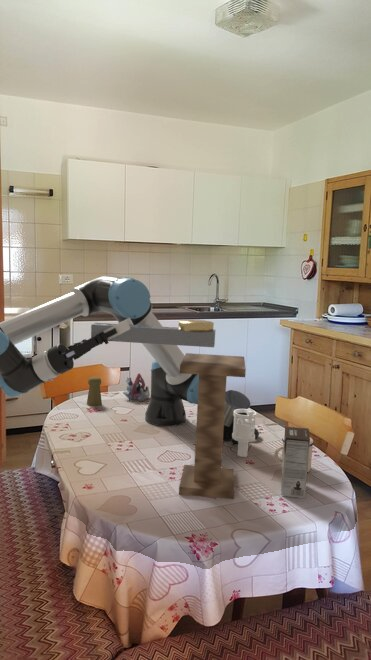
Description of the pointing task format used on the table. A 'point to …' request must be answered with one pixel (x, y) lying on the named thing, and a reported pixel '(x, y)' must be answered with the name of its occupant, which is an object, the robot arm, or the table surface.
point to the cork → (94, 392)
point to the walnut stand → (210, 425)
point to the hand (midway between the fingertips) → (129, 323)
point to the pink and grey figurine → (137, 389)
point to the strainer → (243, 429)
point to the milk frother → (232, 403)
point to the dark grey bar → (165, 333)
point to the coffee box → (295, 462)
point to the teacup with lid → (282, 453)
